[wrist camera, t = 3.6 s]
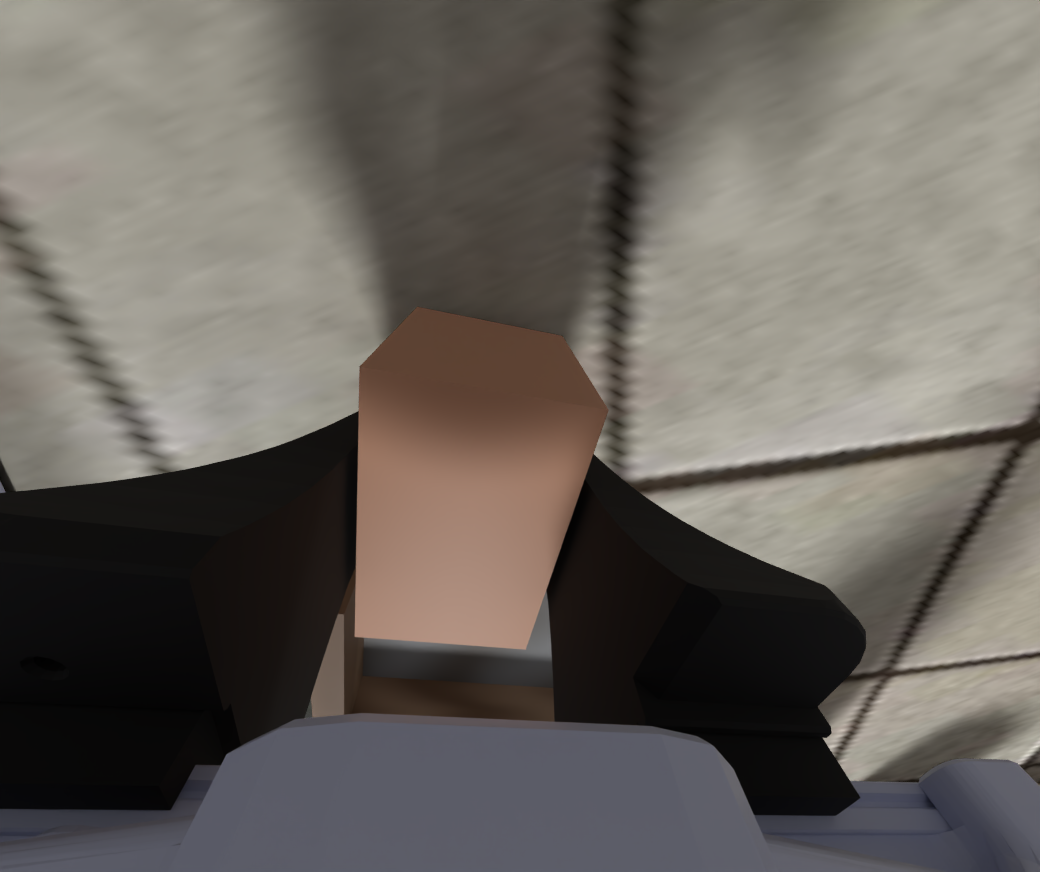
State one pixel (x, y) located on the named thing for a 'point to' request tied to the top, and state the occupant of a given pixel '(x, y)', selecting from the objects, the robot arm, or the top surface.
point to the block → (466, 477)
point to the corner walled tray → (433, 675)
